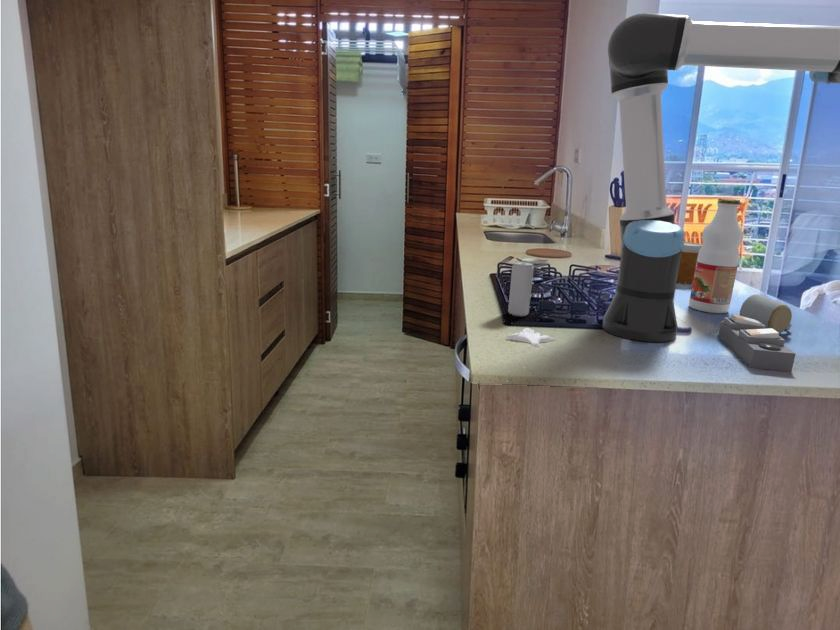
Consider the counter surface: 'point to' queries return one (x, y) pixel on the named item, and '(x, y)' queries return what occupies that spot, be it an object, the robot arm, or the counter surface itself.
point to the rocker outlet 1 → (744, 320)
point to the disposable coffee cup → (688, 262)
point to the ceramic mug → (767, 312)
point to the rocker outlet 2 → (763, 333)
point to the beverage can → (520, 288)
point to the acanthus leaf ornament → (530, 337)
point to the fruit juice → (717, 260)
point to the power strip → (756, 346)
